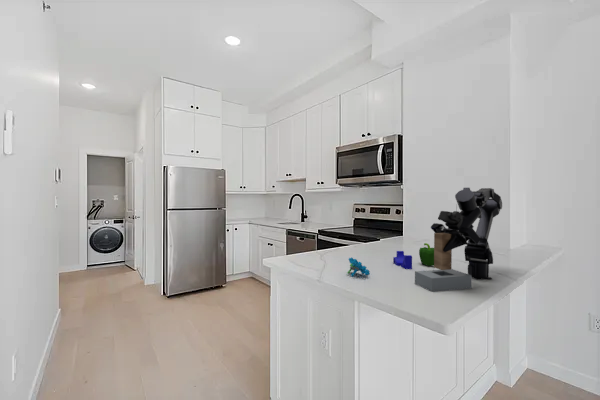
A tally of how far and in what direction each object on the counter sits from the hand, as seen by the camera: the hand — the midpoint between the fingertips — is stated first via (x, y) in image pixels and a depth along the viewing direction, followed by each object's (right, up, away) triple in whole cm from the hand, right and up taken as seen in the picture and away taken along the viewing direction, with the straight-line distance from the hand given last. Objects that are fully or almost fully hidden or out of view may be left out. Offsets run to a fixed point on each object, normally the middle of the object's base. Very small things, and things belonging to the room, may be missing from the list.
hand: (439, 250), depth 106 cm
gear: (-26, -13, +14) cm, 33 cm away
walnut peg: (+1, -7, 0) cm, 7 cm away
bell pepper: (+11, -13, +33) cm, 37 cm away
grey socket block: (+1, -13, 0) cm, 13 cm away
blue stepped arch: (-3, -13, +31) cm, 34 cm away
